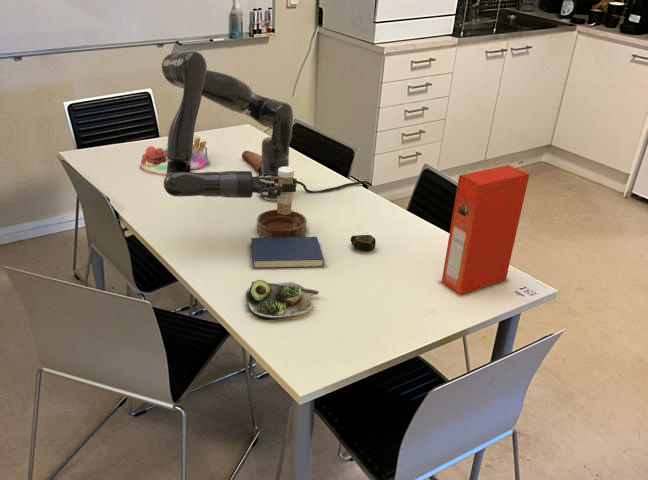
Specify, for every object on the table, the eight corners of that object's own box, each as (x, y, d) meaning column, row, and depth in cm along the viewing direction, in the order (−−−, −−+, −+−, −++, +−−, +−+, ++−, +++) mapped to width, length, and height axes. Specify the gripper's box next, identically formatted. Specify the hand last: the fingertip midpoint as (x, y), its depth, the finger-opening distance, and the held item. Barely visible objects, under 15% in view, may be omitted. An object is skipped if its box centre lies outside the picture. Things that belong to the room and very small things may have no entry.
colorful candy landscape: (157, 150, 268) (155, 127, 263) (214, 155, 266) (213, 132, 261) (135, 172, 247) (133, 148, 242) (197, 178, 245) (196, 154, 240)
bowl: (282, 216, 220) (282, 205, 218) (315, 232, 211) (316, 221, 209) (247, 229, 210) (247, 218, 208) (280, 247, 201) (280, 235, 199)
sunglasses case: (279, 171, 252) (271, 158, 248) (264, 182, 252) (255, 169, 247) (261, 156, 266) (253, 142, 261) (247, 166, 265) (238, 153, 261)
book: (251, 245, 201) (251, 237, 200) (316, 244, 204) (317, 236, 202) (253, 268, 190) (253, 260, 188) (323, 267, 192) (323, 259, 191)
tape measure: (371, 243, 206) (372, 232, 204) (377, 253, 200) (378, 242, 198) (349, 244, 205) (350, 233, 203) (355, 255, 199) (356, 243, 197)
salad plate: (311, 282, 184) (312, 267, 182) (327, 317, 170) (328, 302, 167) (241, 288, 180) (241, 273, 178) (252, 324, 166) (252, 309, 163)
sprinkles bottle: (273, 211, 196) (274, 168, 189) (283, 207, 199) (285, 164, 192) (284, 216, 194) (286, 173, 186) (295, 212, 197) (297, 169, 189)
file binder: (440, 282, 187) (459, 174, 170) (485, 268, 195) (507, 164, 178) (460, 295, 182) (481, 185, 165) (505, 280, 189) (530, 174, 173)
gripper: (236, 181, 182) (298, 182, 184) (234, 162, 194) (293, 163, 196) (236, 206, 186) (296, 207, 188) (234, 187, 198) (292, 187, 200)
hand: (294, 184), depth 192 cm, fingers closed on sprinkles bottle, 4 cm apart
